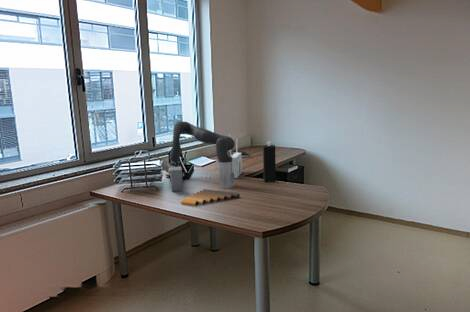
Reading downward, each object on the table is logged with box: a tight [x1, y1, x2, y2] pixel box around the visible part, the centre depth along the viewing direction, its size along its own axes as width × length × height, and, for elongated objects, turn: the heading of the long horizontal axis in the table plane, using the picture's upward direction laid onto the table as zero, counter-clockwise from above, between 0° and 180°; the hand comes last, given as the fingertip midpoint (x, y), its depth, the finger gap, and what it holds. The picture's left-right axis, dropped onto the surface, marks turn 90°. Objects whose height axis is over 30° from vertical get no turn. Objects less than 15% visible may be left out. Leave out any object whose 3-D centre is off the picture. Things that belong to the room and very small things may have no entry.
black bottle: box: [262, 140, 277, 183], centre depth 248 cm, size 8×8×28 cm
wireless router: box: [227, 133, 251, 159], centre depth 345 cm, size 34×23×20 cm
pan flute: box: [180, 188, 241, 207], centre depth 211 cm, size 25×3×25 cm
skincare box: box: [230, 152, 243, 179], centre depth 269 cm, size 21×5×16 cm, turn 168°
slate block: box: [170, 165, 184, 192], centre depth 232 cm, size 4×7×16 cm, turn 105°
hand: (176, 178), depth 235 cm, fingers closed
